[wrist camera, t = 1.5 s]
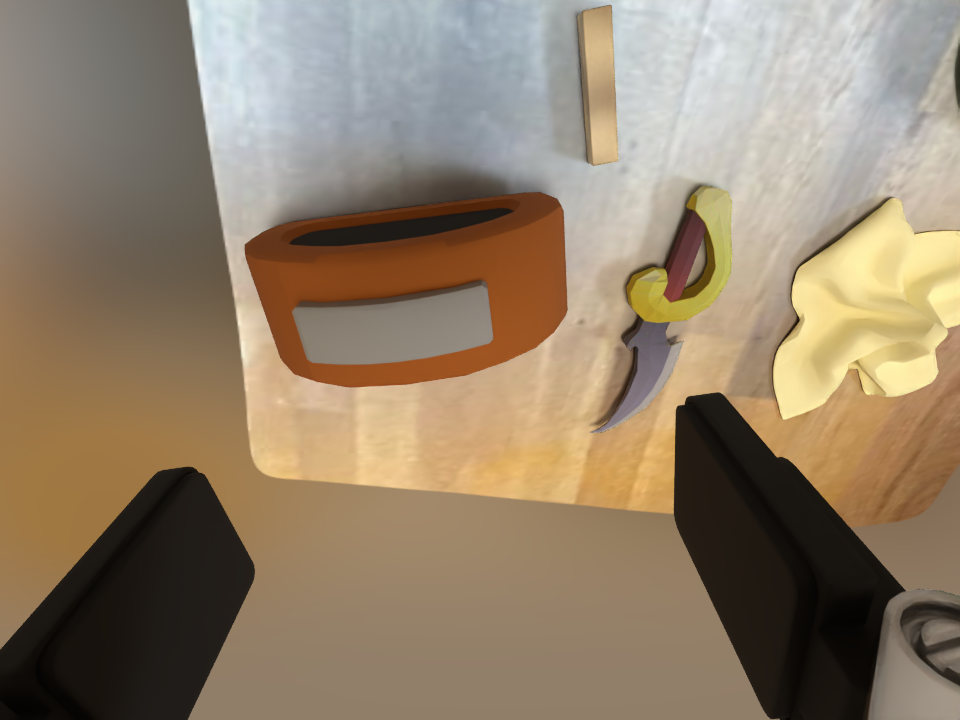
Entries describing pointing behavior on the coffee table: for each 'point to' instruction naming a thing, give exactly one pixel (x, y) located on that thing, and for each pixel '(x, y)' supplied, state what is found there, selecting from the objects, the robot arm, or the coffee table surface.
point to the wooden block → (598, 84)
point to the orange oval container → (413, 288)
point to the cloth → (870, 312)
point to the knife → (674, 298)
